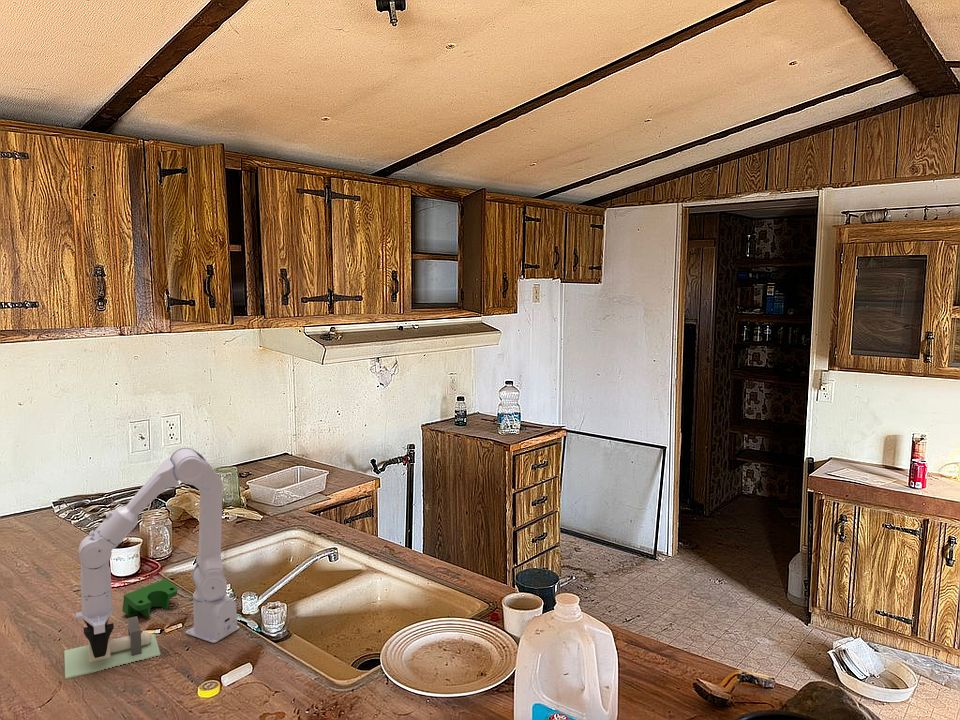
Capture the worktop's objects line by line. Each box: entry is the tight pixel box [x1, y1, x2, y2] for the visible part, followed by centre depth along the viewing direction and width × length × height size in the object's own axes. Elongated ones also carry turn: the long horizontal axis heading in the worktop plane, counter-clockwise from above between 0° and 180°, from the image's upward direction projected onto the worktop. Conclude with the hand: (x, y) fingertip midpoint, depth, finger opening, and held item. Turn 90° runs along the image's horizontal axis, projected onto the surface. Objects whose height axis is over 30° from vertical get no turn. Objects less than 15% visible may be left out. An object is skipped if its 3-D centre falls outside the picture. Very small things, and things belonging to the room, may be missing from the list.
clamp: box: [122, 578, 179, 619], centre depth 170 cm, size 12×6×9 cm, turn 142°
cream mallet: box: [87, 631, 152, 662], centre depth 152 cm, size 12×4×5 cm, turn 122°
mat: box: [63, 633, 162, 680], centre depth 151 cm, size 18×12×1 cm, turn 122°
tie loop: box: [127, 615, 142, 656], centre depth 153 cm, size 2×7×5 cm, turn 32°
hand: (99, 650), depth 149 cm, fingers open, 5 cm apart
